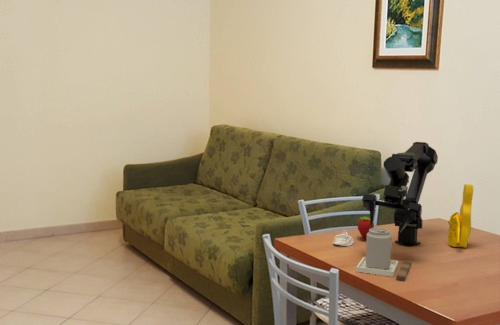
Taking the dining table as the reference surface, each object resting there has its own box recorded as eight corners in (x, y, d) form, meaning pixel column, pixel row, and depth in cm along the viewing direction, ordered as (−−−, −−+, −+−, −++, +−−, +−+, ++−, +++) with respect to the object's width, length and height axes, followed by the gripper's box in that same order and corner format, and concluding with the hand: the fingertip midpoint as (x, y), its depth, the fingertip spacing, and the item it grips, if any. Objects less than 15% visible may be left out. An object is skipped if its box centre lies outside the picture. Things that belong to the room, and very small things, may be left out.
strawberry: (371, 236, 215) (372, 210, 214) (375, 242, 208) (376, 215, 207) (355, 236, 216) (356, 210, 214) (358, 242, 208) (359, 214, 207)
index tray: (363, 261, 186) (363, 256, 186) (398, 265, 182) (398, 261, 182) (356, 272, 176) (356, 266, 176) (393, 276, 172) (393, 271, 172)
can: (383, 273, 174) (385, 234, 172) (361, 268, 178) (362, 230, 177) (394, 266, 180) (395, 229, 178) (372, 262, 184) (373, 225, 182)
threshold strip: (403, 264, 184) (403, 260, 184) (411, 265, 183) (411, 261, 183) (396, 280, 169) (396, 276, 169) (404, 281, 168) (404, 277, 168)
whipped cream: (342, 251, 201) (343, 238, 200) (327, 245, 205) (328, 232, 204) (356, 245, 206) (357, 232, 205) (340, 239, 211) (341, 227, 210)
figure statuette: (442, 238, 214) (446, 179, 211) (465, 239, 212) (468, 180, 209) (451, 252, 196) (454, 188, 193) (475, 253, 195) (479, 189, 192)
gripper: (367, 169, 189) (354, 211, 182) (425, 180, 182) (414, 224, 175) (370, 186, 198) (357, 226, 191) (425, 197, 191) (415, 239, 184)
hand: (385, 228), depth 185 cm, fingers open, 9 cm apart
